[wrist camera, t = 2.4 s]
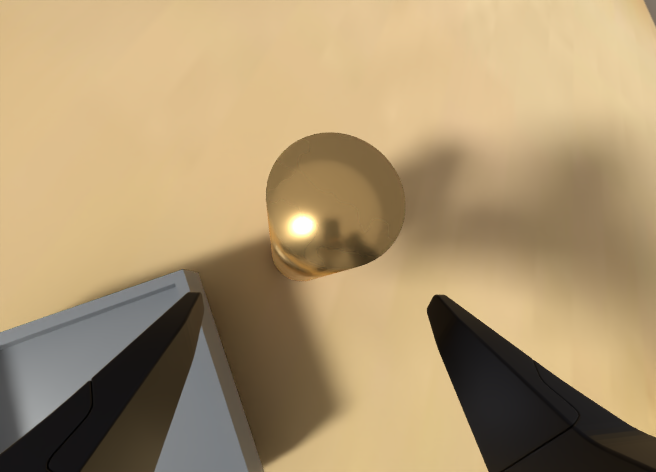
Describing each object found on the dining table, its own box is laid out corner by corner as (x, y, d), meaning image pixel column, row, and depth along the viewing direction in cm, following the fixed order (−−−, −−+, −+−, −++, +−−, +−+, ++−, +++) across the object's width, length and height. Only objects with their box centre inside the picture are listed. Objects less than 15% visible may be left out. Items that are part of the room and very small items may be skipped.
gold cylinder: (341, 263, 21) (429, 228, 9) (289, 292, 20) (310, 296, 8) (314, 212, 21) (362, 115, 9) (261, 238, 20) (239, 162, 8)
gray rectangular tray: (269, 469, 17) (267, 530, 13) (58, 592, 14) (-38, 727, 10) (204, 273, 19) (183, 269, 14) (3, 346, 16) (-100, 367, 11)
